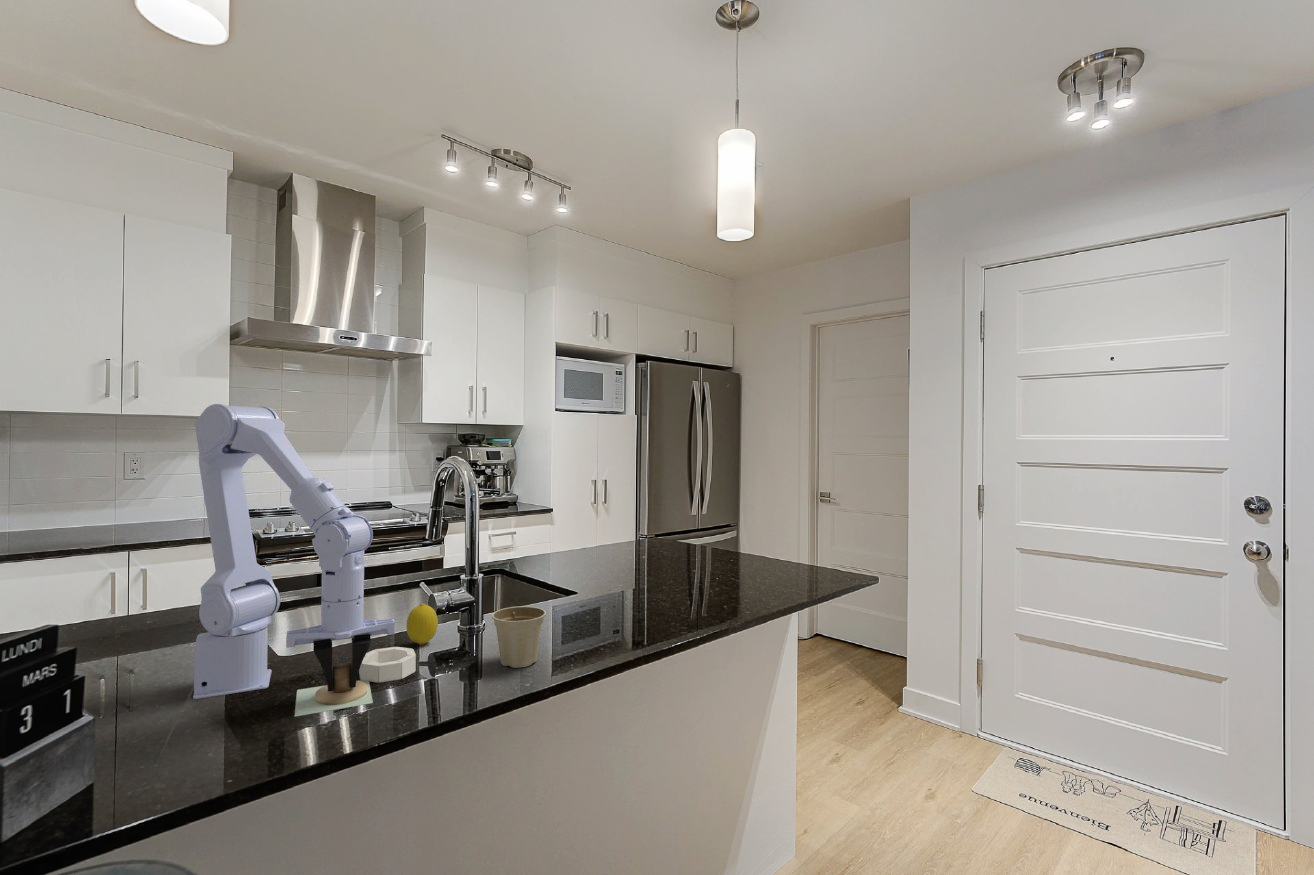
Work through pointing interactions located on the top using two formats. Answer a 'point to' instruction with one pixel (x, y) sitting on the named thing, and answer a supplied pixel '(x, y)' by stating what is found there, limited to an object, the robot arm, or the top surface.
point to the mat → (310, 706)
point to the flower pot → (518, 634)
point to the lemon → (422, 624)
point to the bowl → (388, 664)
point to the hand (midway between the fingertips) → (341, 687)
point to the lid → (341, 688)
